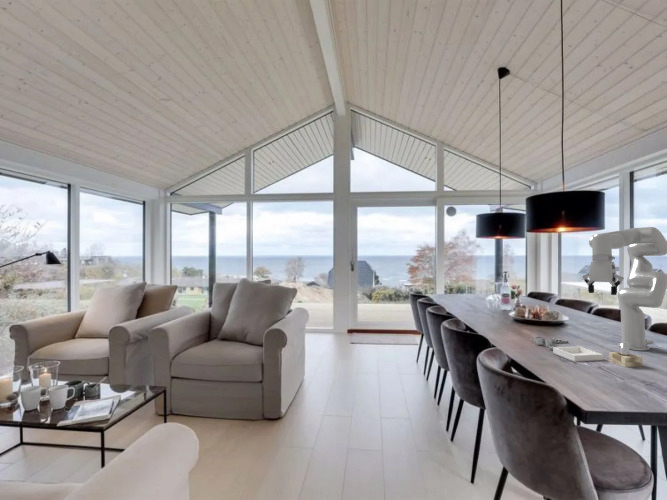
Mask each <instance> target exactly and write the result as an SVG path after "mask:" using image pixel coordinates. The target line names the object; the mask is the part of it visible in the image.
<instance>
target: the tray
mask: <svg viewBox="0 0 667 500" xmlns="http://www.w3.org/2000/svg"><path fill="white" fill-rule="evenodd" d="M552 352H553V353H552V354H553V355H554V356H556V357H559V358H561V359H562V360H566V361H568V362H571V363H573V364H577V362H588V361H590V362H591V361H604V353H600V352H597V351H594V350H591V349H588V348H585V347H583V346H580V345H579V346H561V347H555V346H553V351H552Z"/></svg>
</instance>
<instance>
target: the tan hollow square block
mask: <svg viewBox="0 0 667 500" xmlns="http://www.w3.org/2000/svg"><path fill="white" fill-rule="evenodd" d="M629 354H630V356H623V355H621V351H612V352H610V351H609V352H608V361H609V362H610V363H613V364H616V365H618V366H622V367H624V368H628V367H629V368H633V367H635V368H637V367H643V356H640V355H637V354H635V353H634V354H633V353H630V352H629Z"/></svg>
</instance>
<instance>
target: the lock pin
mask: <svg viewBox="0 0 667 500" xmlns="http://www.w3.org/2000/svg"><path fill="white" fill-rule="evenodd" d="M619 343H620V347H619V348H620V352H621V355H623V356H630V354H629V353H630V349H629V343H621V342H619Z"/></svg>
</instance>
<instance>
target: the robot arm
mask: <svg viewBox="0 0 667 500" xmlns="http://www.w3.org/2000/svg"><path fill="white" fill-rule="evenodd" d="M588 244H589V247H590V248H591V250H592V251H591V252H592V255H591V256H592V258H591V259H592V261H591V262H590V264H589V271H588V272H589V273H585V274H584V275H582V279H583V280H584V282H585V283H586V285H587V288H588V293H589V294H594V293H595V285H594V283H596V282H599V283H609V284H610V285H611V286H610V295H611V296H616V295H617V298H618V302H619V309H620V327H621V328H620V329H621V331H620V332H621V342H618V343H617V346H618V347H619V348H621V347H620V343H629V350H631V351H632V350H633V351H650V349H651V348H650V346H648V345H653V344H654V340H653V339H650V340H647V339H646V323H645V322H646V320H645V319H646V318H645V313H644V312H643V310H642V309H641V308H651V309H657V308H660V307H661V306H662V303H663V301H664V298H665V295H666V292H667V291H666V290H667V275H666V274H665V273H664V272H660V271H652V270H653V264H652V263H651V261H649V260H648V259H647V258H646V257H662V256H667V239H666V238H665V236H664V235H663V233H662V232H661V231H660V230H659V229H658V228H656V227H654V226H647V227H646V226H645V227H631V228H627V229H621V230H615V231H610V232H604V233H603V232H602V233H594V234H593V235H591V236H590V237H589V240H588ZM623 247H626V251H627V254H628V257H629V259H630V262H631V266H630V268H629V273H628V275H627V279H626V284H627V287H623V288H620V289H619V290H618V287H619V286H620V285H621V284H622V282H623V281H624V279H625V278H624V277H623V276H621V275H619V274H618V273H617V269H616V268H617V267H616V264H615V261H613V260H615V259H616V257H615V256H613V255H612V254H613V251H612V250H618V249H622V248H623ZM588 278H589V279H588ZM617 279H618V280H617ZM640 307H641V308H640Z"/></svg>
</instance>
